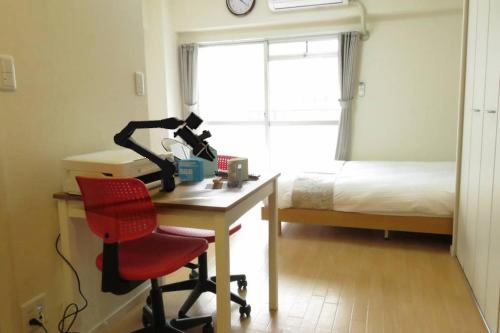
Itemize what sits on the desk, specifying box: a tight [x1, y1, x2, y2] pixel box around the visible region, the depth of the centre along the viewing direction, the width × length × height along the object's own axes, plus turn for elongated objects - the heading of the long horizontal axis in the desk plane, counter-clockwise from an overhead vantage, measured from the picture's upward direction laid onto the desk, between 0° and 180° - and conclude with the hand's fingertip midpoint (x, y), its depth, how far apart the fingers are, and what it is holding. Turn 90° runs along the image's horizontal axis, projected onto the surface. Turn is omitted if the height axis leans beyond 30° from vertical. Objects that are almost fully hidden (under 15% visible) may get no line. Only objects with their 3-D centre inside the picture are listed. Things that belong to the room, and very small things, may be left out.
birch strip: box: [226, 159, 237, 183], centre depth 182 cm, size 4×2×12 cm, turn 90°
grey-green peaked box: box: [189, 143, 219, 178], centre depth 216 cm, size 16×8×20 cm, turn 80°
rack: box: [204, 164, 244, 190], centre depth 182 cm, size 18×12×10 cm
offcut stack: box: [212, 176, 224, 189], centre depth 183 cm, size 4×10×4 cm, turn 0°
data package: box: [177, 158, 205, 183], centre depth 199 cm, size 12×4×12 cm, turn 76°
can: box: [229, 157, 249, 182], centre depth 197 cm, size 9×9×12 cm
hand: (214, 159), depth 181 cm, fingers open, 9 cm apart
